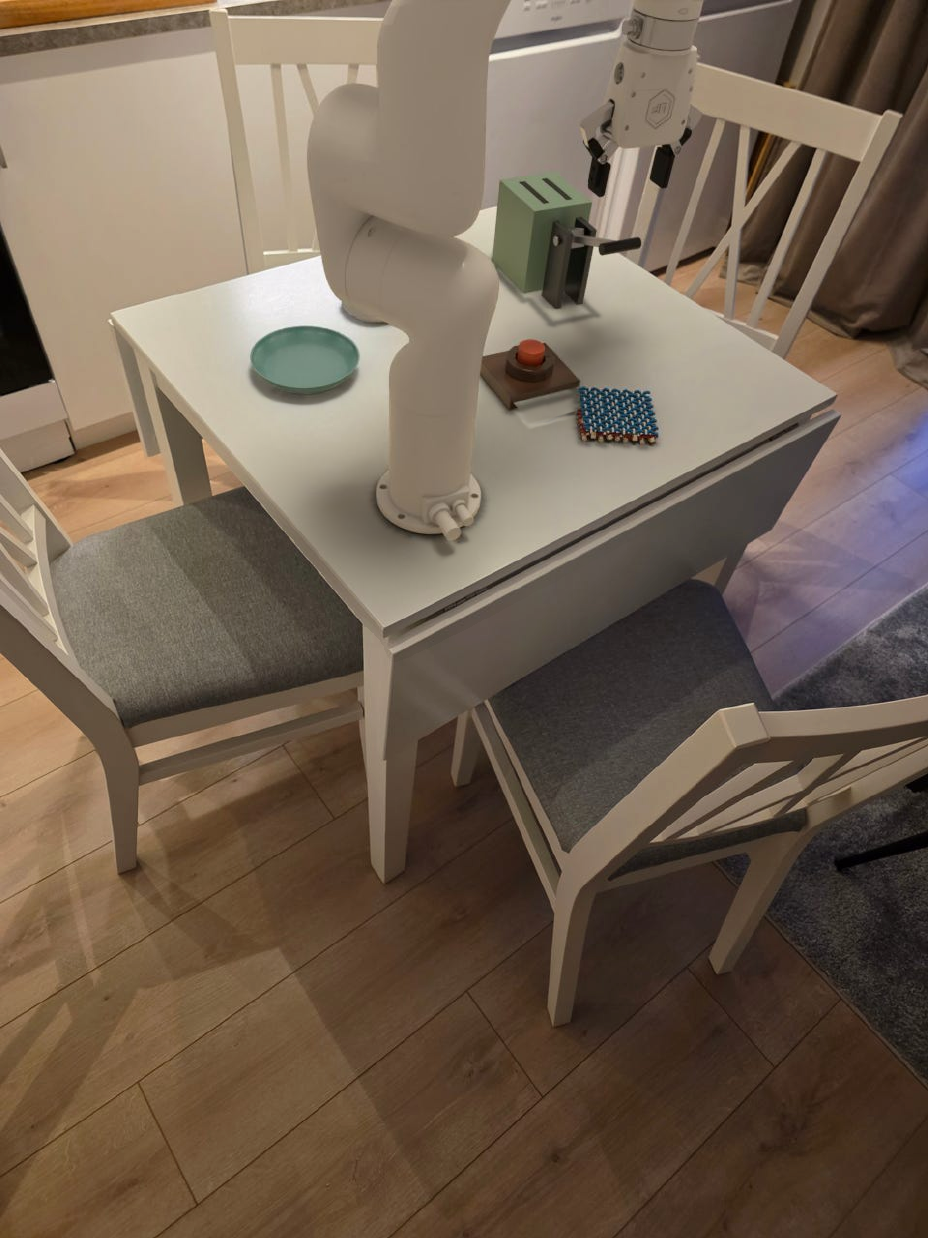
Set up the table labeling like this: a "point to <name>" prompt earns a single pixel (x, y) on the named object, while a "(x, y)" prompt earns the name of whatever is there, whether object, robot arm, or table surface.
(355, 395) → the table surface
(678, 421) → the table surface
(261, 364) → the saucer
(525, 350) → the button
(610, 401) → the woven mat
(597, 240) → the lever
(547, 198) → the toaster
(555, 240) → the bracket
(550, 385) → the control block
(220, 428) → the table surface
